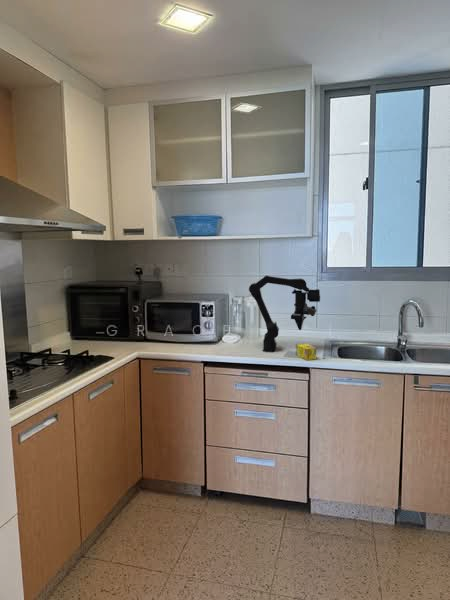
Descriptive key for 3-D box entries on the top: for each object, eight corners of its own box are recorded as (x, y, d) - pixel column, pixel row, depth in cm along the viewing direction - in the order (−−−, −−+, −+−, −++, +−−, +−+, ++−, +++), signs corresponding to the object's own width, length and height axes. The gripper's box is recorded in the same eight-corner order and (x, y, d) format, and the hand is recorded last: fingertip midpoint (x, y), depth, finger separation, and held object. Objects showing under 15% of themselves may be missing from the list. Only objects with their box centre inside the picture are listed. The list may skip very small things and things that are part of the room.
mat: (283, 356, 216) (283, 356, 216) (287, 351, 227) (287, 350, 227) (306, 358, 211) (306, 358, 211) (309, 352, 223) (309, 352, 222)
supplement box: (296, 344, 217) (306, 348, 206) (306, 343, 219) (316, 347, 208) (295, 355, 218) (306, 360, 207) (305, 354, 219) (316, 359, 209)
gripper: (311, 304, 211) (311, 334, 213) (318, 300, 228) (318, 327, 230) (290, 303, 216) (290, 332, 217) (298, 299, 233) (298, 326, 235)
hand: (300, 329), depth 225 cm, fingers closed
